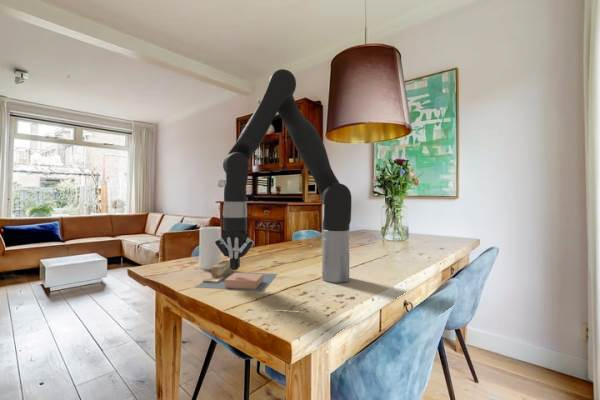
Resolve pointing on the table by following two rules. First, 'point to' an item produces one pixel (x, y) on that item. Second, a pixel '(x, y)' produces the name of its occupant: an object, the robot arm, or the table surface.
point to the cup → (209, 247)
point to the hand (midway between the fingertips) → (234, 269)
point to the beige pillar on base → (219, 272)
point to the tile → (244, 280)
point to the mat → (221, 285)
